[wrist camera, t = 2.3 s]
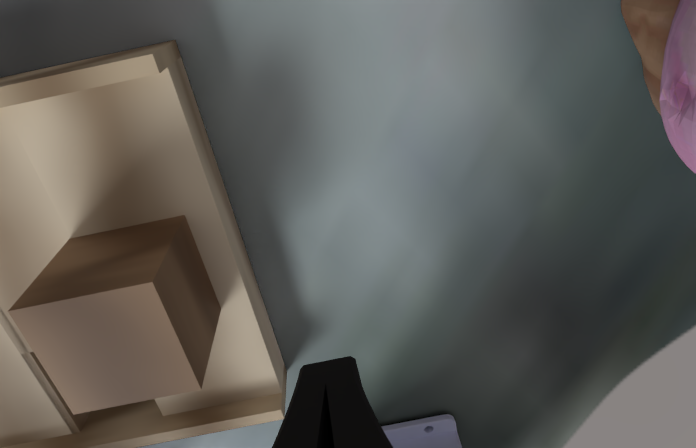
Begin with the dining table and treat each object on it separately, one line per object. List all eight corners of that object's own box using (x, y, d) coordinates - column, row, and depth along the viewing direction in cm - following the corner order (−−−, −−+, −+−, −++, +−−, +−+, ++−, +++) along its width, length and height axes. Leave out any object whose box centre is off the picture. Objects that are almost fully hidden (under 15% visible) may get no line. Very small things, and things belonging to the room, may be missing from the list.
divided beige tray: (175, 39, 18) (147, 56, 15) (286, 371, 26) (283, 428, 23) (-339, 151, 19) (-466, 189, 16) (-83, 444, 26) (-135, 508, 23)
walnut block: (184, 214, 19) (152, 281, 15) (221, 308, 21) (201, 389, 17) (69, 238, 19) (7, 311, 15) (117, 330, 22) (73, 414, 18)
